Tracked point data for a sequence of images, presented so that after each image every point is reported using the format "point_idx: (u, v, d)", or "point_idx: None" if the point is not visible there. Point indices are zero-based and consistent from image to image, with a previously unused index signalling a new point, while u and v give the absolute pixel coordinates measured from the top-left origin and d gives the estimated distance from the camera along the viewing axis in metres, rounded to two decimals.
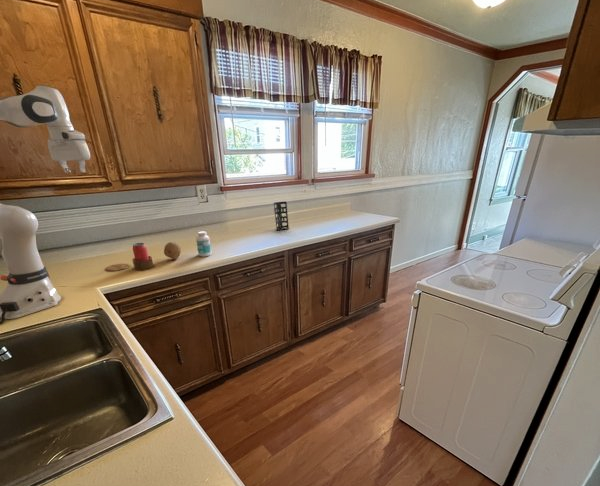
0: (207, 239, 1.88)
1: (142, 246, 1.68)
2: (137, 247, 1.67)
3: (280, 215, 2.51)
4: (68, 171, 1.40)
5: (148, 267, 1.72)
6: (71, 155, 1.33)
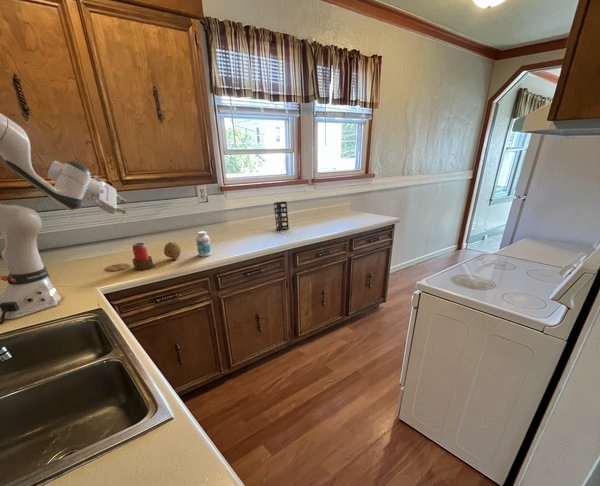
0: (207, 239, 1.88)
1: (142, 246, 1.68)
2: (137, 247, 1.67)
3: (280, 215, 2.51)
4: None
5: (148, 267, 1.72)
6: (112, 192, 1.49)
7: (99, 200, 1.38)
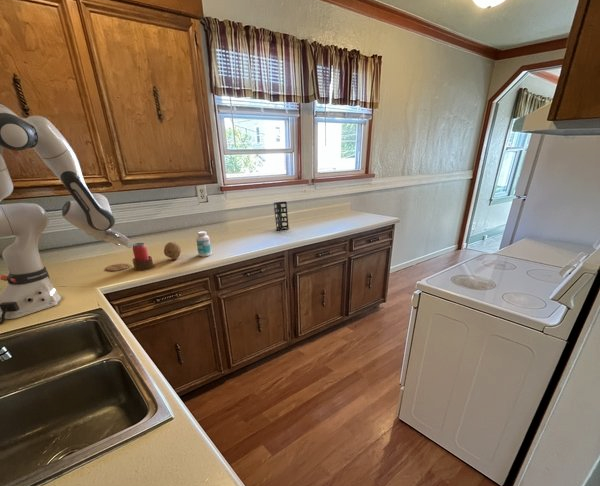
0: (207, 239, 1.88)
1: (142, 246, 1.68)
2: (137, 247, 1.67)
3: (280, 215, 2.51)
4: None
5: (148, 267, 1.72)
6: None
7: (116, 232, 1.48)
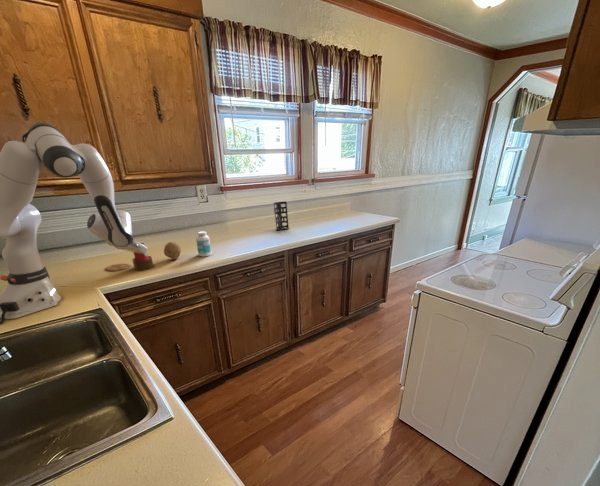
0: (207, 239, 1.88)
1: None
2: None
3: (280, 215, 2.51)
4: None
5: (148, 267, 1.72)
6: None
7: (136, 242, 1.58)
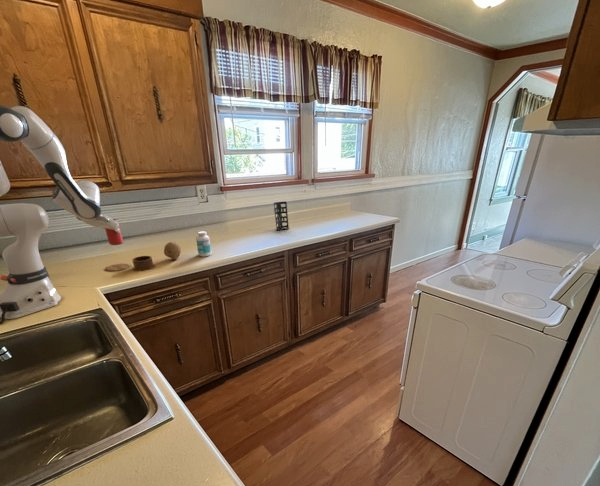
0: (207, 239, 1.88)
1: None
2: None
3: (280, 215, 2.51)
4: None
5: (148, 267, 1.72)
6: None
7: (106, 216, 1.52)
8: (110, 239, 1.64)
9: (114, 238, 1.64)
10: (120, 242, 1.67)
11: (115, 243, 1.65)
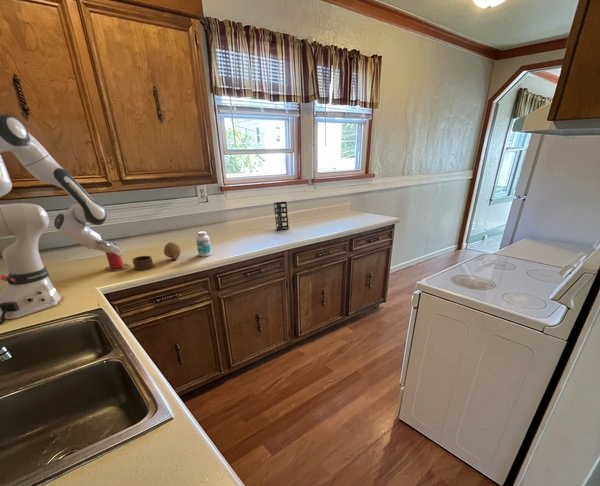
0: (207, 239, 1.88)
1: None
2: None
3: (280, 215, 2.51)
4: None
5: (148, 267, 1.72)
6: None
7: (106, 242, 1.58)
8: (111, 263, 1.70)
9: (114, 262, 1.70)
10: (120, 266, 1.73)
11: (115, 267, 1.71)
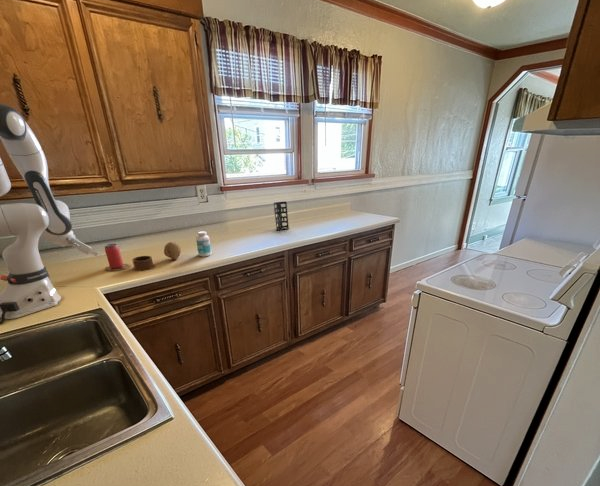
0: (207, 239, 1.88)
1: (114, 247, 1.68)
2: (109, 248, 1.67)
3: (280, 215, 2.51)
4: None
5: (148, 267, 1.72)
6: None
7: (76, 241, 1.47)
8: (111, 263, 1.70)
9: (114, 262, 1.70)
10: (120, 266, 1.73)
11: (115, 267, 1.71)
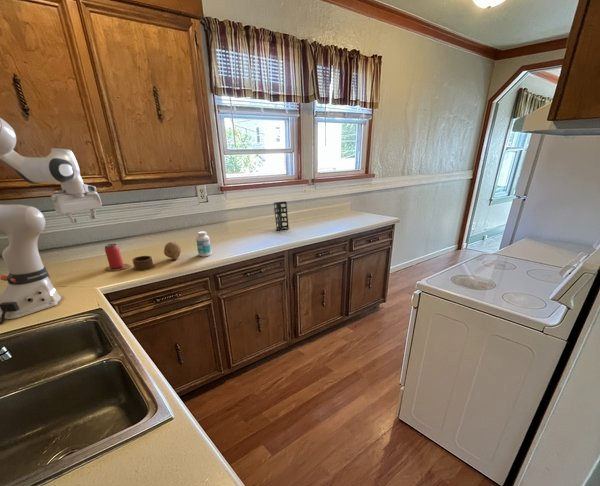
0: (207, 239, 1.88)
1: (114, 247, 1.68)
2: (109, 248, 1.67)
3: (280, 215, 2.51)
4: None
5: (148, 267, 1.72)
6: (89, 205, 1.50)
7: (57, 197, 1.38)
8: (111, 263, 1.70)
9: (114, 262, 1.70)
10: (120, 266, 1.73)
11: (115, 267, 1.71)
